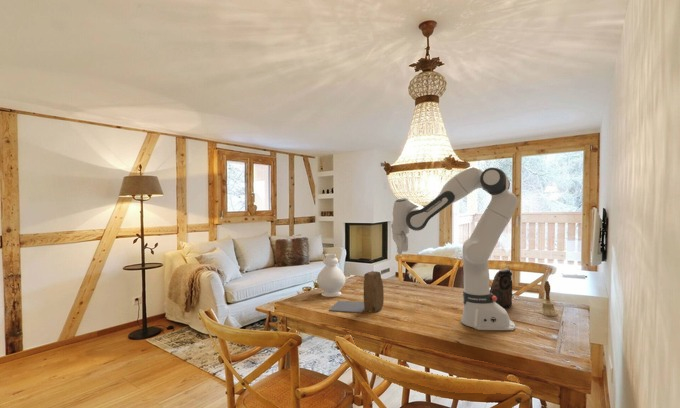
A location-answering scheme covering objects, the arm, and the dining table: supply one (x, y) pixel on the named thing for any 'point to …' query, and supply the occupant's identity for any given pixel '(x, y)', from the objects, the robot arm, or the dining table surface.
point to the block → (373, 292)
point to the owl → (502, 288)
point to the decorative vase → (331, 277)
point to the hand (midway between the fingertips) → (399, 253)
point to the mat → (348, 307)
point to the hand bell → (548, 303)
